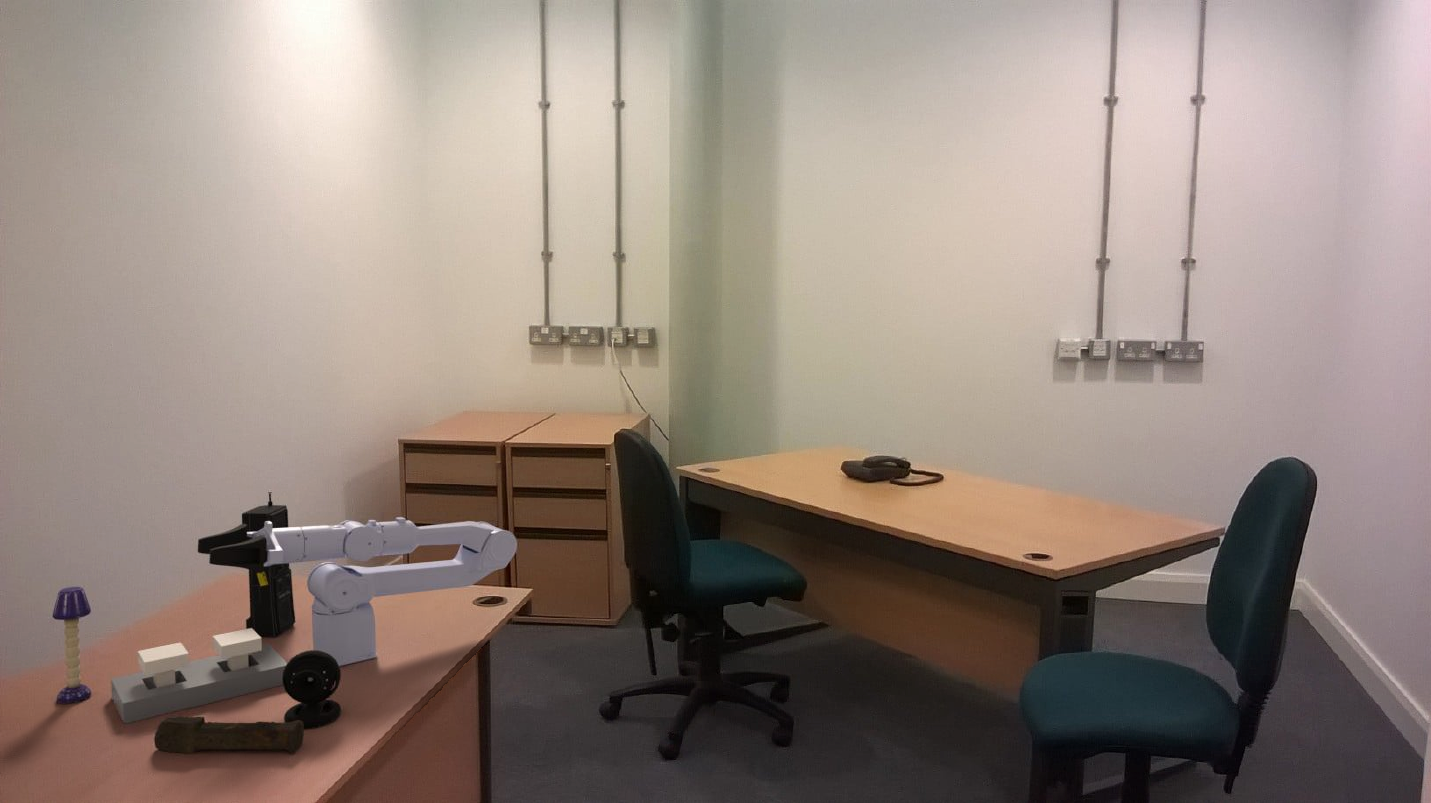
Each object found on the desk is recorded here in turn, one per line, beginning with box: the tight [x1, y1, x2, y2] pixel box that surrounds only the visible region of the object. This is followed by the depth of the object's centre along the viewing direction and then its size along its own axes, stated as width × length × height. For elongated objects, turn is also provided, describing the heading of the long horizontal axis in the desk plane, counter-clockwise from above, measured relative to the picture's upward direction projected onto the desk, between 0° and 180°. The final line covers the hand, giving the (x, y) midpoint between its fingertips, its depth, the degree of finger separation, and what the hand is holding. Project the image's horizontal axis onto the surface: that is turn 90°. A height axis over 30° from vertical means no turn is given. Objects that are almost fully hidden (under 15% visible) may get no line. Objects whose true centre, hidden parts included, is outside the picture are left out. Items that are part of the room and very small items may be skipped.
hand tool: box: [153, 715, 305, 755], centre depth 120 cm, size 19×4×5 cm, turn 90°
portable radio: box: [241, 491, 297, 638], centre depth 161 cm, size 8×6×25 cm
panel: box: [110, 644, 288, 725], centre depth 138 cm, size 22×11×3 cm, turn 131°
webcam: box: [282, 649, 342, 730], centre depth 129 cm, size 8×8×10 cm
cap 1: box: [137, 642, 190, 688], centre depth 134 cm, size 6×6×5 cm
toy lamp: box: [52, 586, 92, 704], centre depth 134 cm, size 5×5×17 cm
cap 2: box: [212, 628, 263, 671], centre depth 141 cm, size 6×6×5 cm
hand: (204, 551), depth 136 cm, fingers open, 7 cm apart
